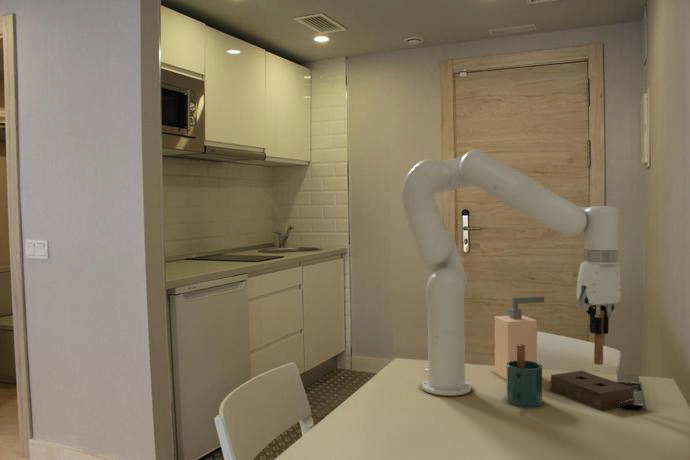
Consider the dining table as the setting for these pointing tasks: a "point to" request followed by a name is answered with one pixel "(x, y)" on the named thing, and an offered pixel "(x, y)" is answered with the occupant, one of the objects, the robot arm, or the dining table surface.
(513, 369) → the mug
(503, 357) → the soap dispenser
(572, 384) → the stirrer stand
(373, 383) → the dining table surface
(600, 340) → the stirrer
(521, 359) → the stirrer
